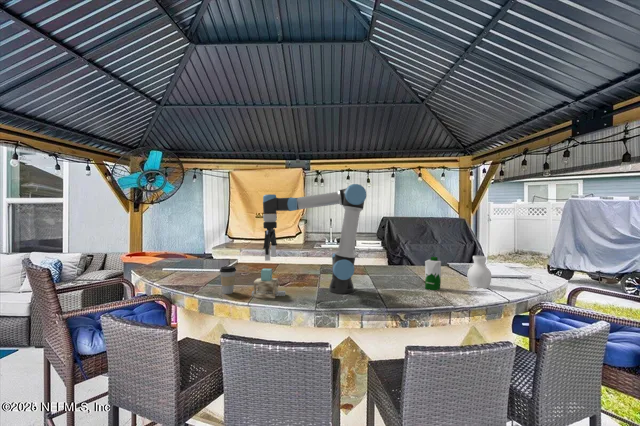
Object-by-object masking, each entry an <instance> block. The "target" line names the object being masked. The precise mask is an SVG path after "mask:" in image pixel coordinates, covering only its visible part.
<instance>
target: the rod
mask: <svg viewBox="0 0 640 426" xmlns="http://www.w3.org/2000/svg"><path fill="white" fill-rule="evenodd" d="M256 294H273V291H258V290H256ZM285 296H286V290H278V291H275V297H285ZM251 297H254V290H252V291H251Z"/></svg>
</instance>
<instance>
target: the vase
mask: <svg viewBox="0 0 640 426" xmlns="http://www.w3.org/2000/svg"><path fill="white" fill-rule="evenodd" d="M472 261H473V263H472V265H471V266H470V267H469V269H468V270H467V280H468V286H469V285H470V286H473V287H477V288H476V289H479V288H488V289H490V286H491V282H492V272H491V271H490V269H489V268H488V267H487V266H486V261H487V256H485V255H472ZM470 286H469V287H470ZM473 287H472V288H473Z"/></svg>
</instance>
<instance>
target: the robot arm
mask: <svg viewBox="0 0 640 426" xmlns="http://www.w3.org/2000/svg"><path fill="white" fill-rule="evenodd" d="M366 199H367V190H366V189H365V187H364V186H363V185H362V184H358V183H353V184H350V185H348V186H347V187H346V188H342V189H338V191H335V192H334V191H333V192H328V193H327V192H326V193H321V194H320V193H319V194H314V195H313V194H312V195H307V196H306V195H305V196H300V197H299V196H298V197H277V195H276V194H274V193H273V194H269V193H268V194H264V195H263V197H262V211H263V212H262V213H263V214H262V218H263V223H262V224H263V226H262V227H263V229H266V230H265V231H264V241H263V247H262V249H263V250H264V261H271V258H274V257H275V258H276V257H277V248H276V247H277V246H278V242H277V238H276V237H277V236H276V229H277V228H278V225H277V224H278V222H277V220H278V219H277V215H278V214H277V212H292V211H295V212H296V211H298V210H307V209H313V208H314V209H315V208H319V207H320V208H321V207H326V206H327V207H328V206H335V205H339V206H342V207H343V209H344V213H343V214H344V215H343V220H342V226H341V227H342V228H341V231H340V232H341V233H340V238H339V239H340V240H339V244H338V251H336V252H335V253H332V257H331V259H332V263H331V264H332V271H331V272H332V273H331V280H330V284H329V287H328V289H329V292H331V293H333V294H339V295H340V294H351V293H353V292H354V291H355V288H354V283H353V280H352V277H353V275H354V273H355V261H356V255H355V254H354V252H355V251H354V250H355V245H356V239H357V232H358V226H359V219H360V213H361V212H362V211H363V210H364V207H365V201H366Z"/></svg>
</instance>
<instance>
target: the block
mask: <svg viewBox="0 0 640 426" xmlns="http://www.w3.org/2000/svg"><path fill="white" fill-rule="evenodd" d="M260 278H261V281H270V280H271V279H272V278H273V268H262V269H261V270H260Z"/></svg>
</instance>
